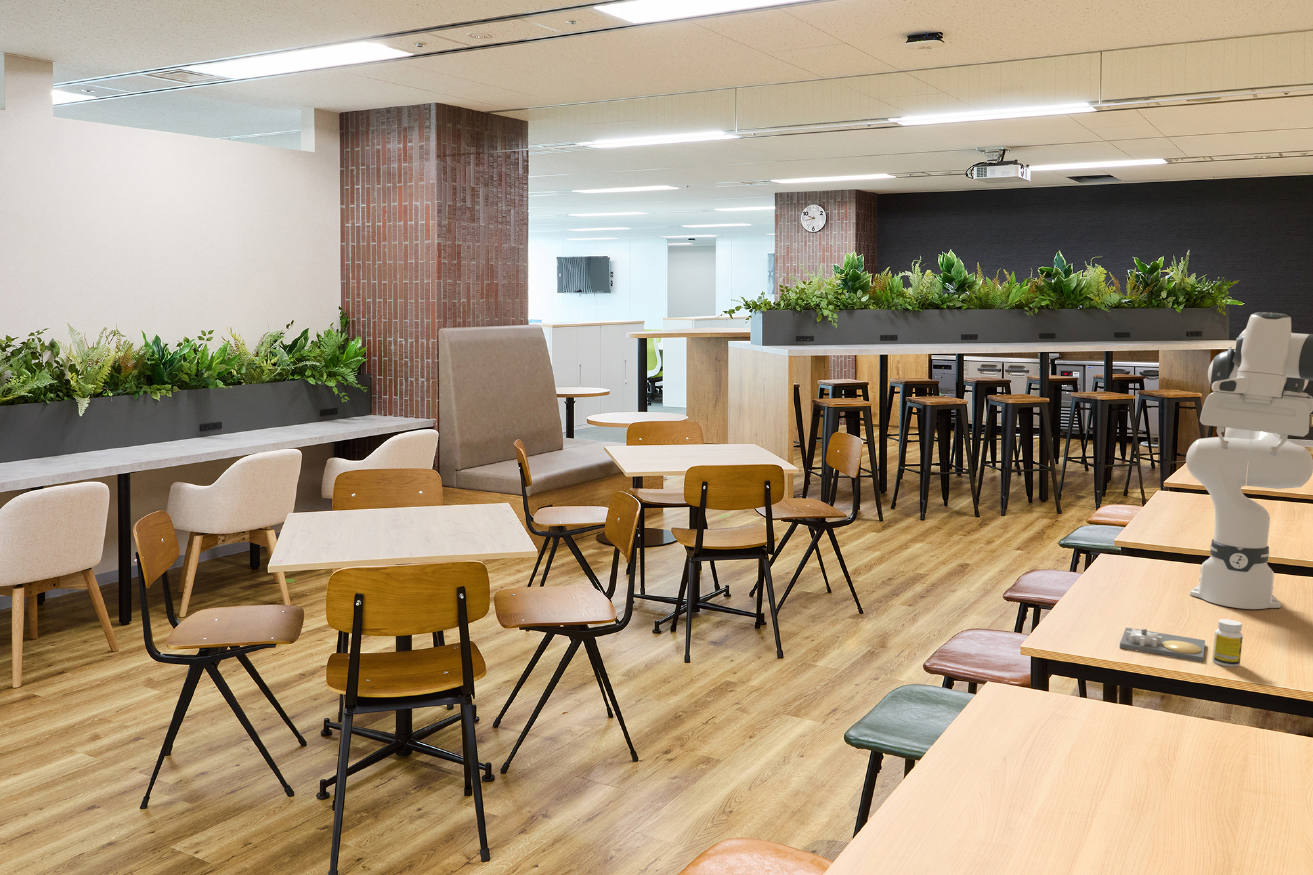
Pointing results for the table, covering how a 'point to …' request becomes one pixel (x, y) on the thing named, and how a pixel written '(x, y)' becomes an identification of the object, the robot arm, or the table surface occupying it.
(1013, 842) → the table surface
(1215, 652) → the supplement bottle
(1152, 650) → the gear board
